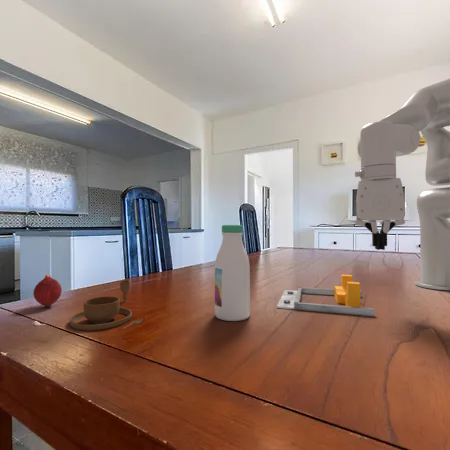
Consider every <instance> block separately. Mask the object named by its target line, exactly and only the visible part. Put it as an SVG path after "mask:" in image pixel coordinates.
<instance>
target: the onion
mask: <svg viewBox="0 0 450 450" xmlns="http://www.w3.org/2000/svg"><path fill="white" fill-rule="evenodd" d="M62 291H63V289H62V285H61V284H60V282H59V281H57V280H56V279H55V278H53V277H51V275H50V274H48V273H46V274H45V275H44V278H43V279H42V280H40V281H38V283H37V284H36V285H35V287H34V289H33V293H32V295H33V298H34V299H35V301H36V302H37V303H38V304H40V305H41V306H44V307H45V308H49V307H51V306H52V305H53V304H55V303H56V302H57V301H58V300H59V299H60V297H61V296H62Z"/></svg>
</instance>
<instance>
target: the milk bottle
mask: <svg viewBox="0 0 450 450" xmlns="http://www.w3.org/2000/svg"><path fill="white" fill-rule="evenodd" d="M243 227H244V226H243V225H242V224H222V225H221V235H222V241H221V244H220V247H219V250H218V252H217V254H216V256H215V257H216V258H215V263H214V264H215V265H214V316H215V317H216V318H217V319H219V320H220V321H221V320H222V321H226V322H238V321H245V320H247V319H249V316H250V315H251V272H250V271H251V270H250V258H249V256H248V252H247V251H246V249H245V247H244V242H243V238H242V237H243V235H244V234H243V232H244V231H243V230H244V228H243Z"/></svg>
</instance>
